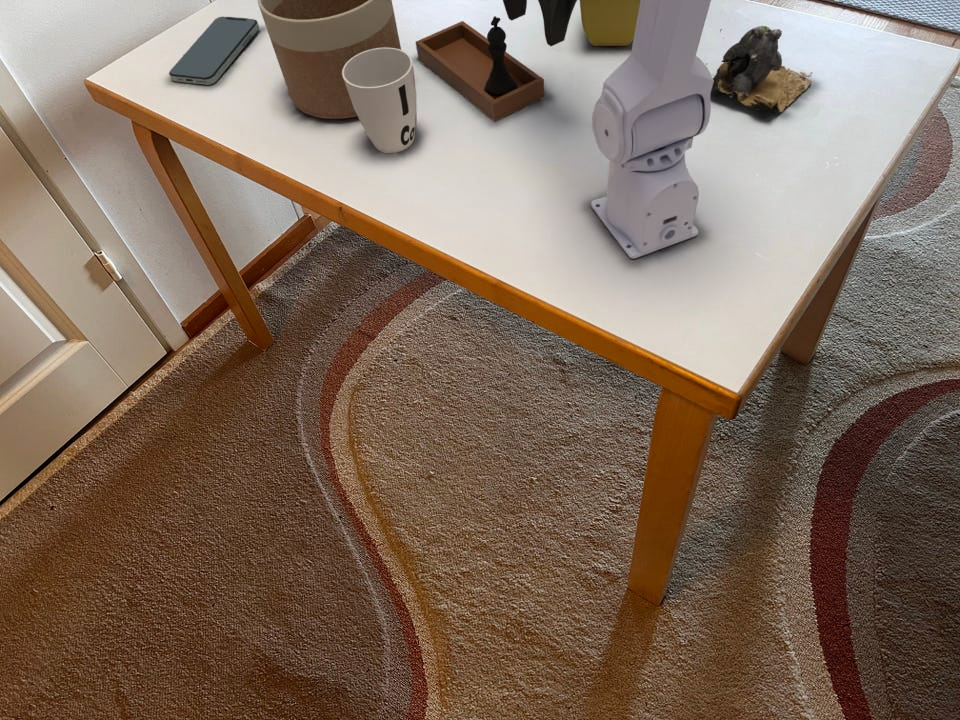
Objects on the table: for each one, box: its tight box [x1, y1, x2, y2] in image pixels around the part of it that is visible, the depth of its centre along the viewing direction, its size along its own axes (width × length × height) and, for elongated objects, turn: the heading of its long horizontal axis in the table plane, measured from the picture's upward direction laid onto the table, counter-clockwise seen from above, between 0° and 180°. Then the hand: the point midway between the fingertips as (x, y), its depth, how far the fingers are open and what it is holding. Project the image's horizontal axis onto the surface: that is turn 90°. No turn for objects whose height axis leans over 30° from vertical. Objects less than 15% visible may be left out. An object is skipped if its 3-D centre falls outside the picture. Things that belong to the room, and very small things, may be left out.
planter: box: [257, 0, 402, 120], centre depth 92 cm, size 16×16×14 cm
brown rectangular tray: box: [415, 20, 546, 123], centre depth 95 cm, size 19×8×3 cm, turn 34°
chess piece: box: [484, 15, 518, 99], centre depth 89 cm, size 4×4×10 cm
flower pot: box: [579, 0, 641, 47], centre depth 95 cm, size 9×9×9 cm
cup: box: [342, 48, 418, 154], centre depth 86 cm, size 8×8×10 cm
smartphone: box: [168, 16, 260, 86], centre depth 105 cm, size 8×2×15 cm
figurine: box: [705, 25, 814, 119], centre depth 84 cm, size 10×10×10 cm
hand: (536, 29), depth 84 cm, fingers open, 7 cm apart
